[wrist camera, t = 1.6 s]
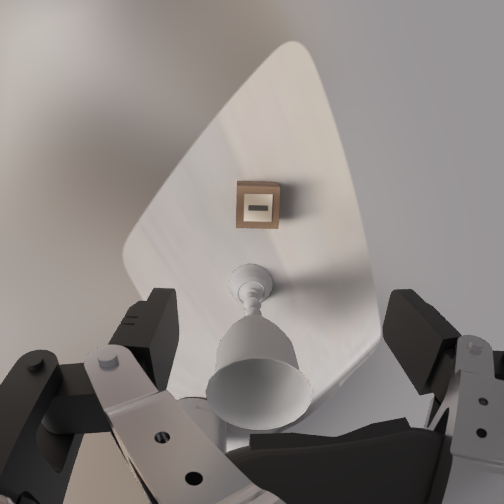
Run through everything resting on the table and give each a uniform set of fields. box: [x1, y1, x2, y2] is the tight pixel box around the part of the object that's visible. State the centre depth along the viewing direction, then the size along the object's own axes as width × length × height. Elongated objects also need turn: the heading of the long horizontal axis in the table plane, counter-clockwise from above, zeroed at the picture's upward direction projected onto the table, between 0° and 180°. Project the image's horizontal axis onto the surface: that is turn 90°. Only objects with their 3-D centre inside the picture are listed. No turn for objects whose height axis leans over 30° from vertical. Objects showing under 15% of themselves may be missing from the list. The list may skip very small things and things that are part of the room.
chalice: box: [206, 264, 312, 430], centre depth 28 cm, size 7×7×18 cm
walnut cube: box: [236, 181, 280, 229], centre depth 31 cm, size 4×4×4 cm
